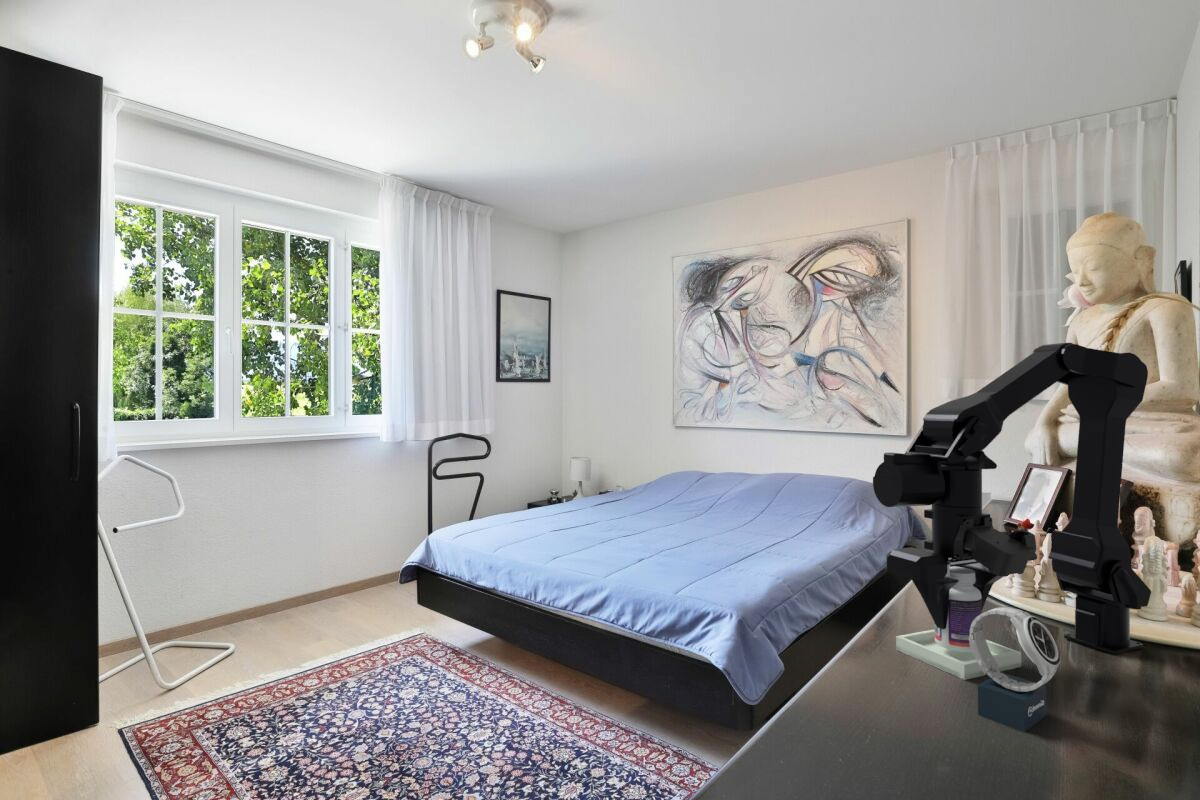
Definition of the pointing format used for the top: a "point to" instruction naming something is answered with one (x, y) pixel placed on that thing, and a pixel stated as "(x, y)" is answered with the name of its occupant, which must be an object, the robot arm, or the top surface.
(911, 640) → the tray
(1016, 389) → the robot arm
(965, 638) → the pill bottle
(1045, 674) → the watch
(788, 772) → the top surface
